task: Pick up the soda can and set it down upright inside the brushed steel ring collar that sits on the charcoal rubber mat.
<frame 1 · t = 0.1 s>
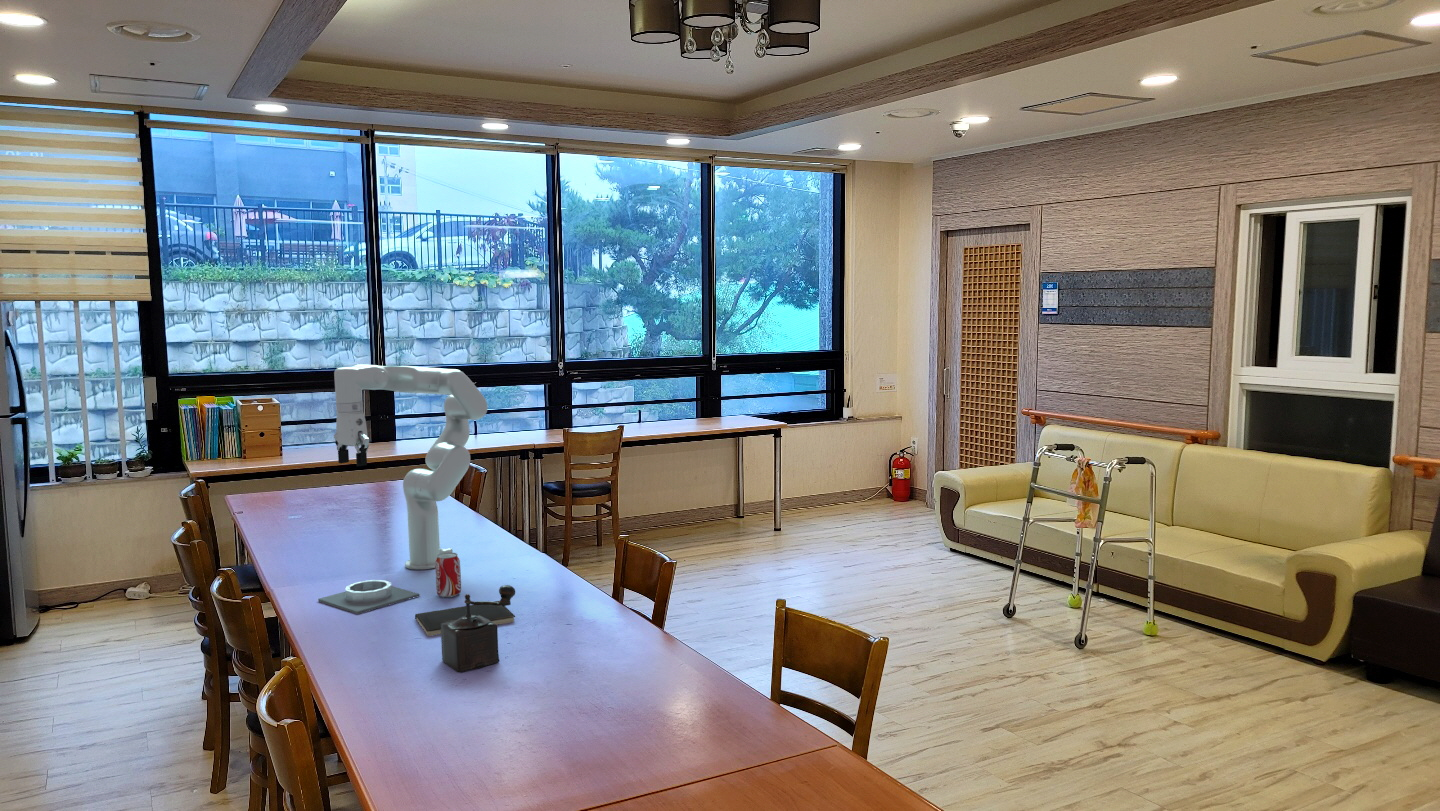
hand: (352, 464, 302), 37 cm above the table, tool pointing down, fingers open, 9 cm apart
mat: (369, 598, 289), on the table
ring collar: (368, 591, 289), on the mat, point 2 cm above the table
hardcover book: (465, 623, 268), on the table
manual coffee grinder: (481, 660, 239), on the table
soda can: (449, 595, 292), on the table
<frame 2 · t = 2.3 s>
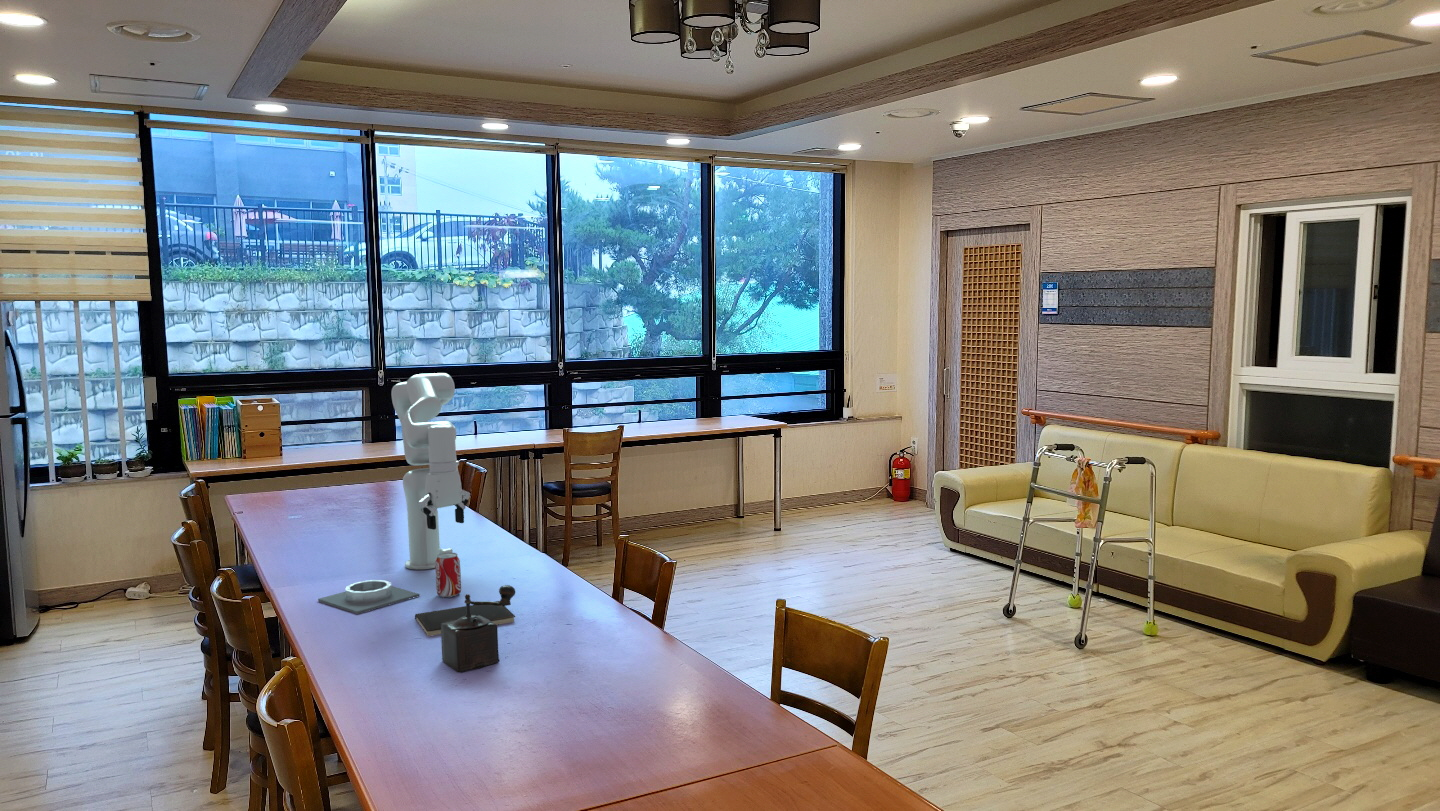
hand: (446, 525, 289), 21 cm above the table, tool pointing down, fingers open, 9 cm apart
nothing on the table moved.
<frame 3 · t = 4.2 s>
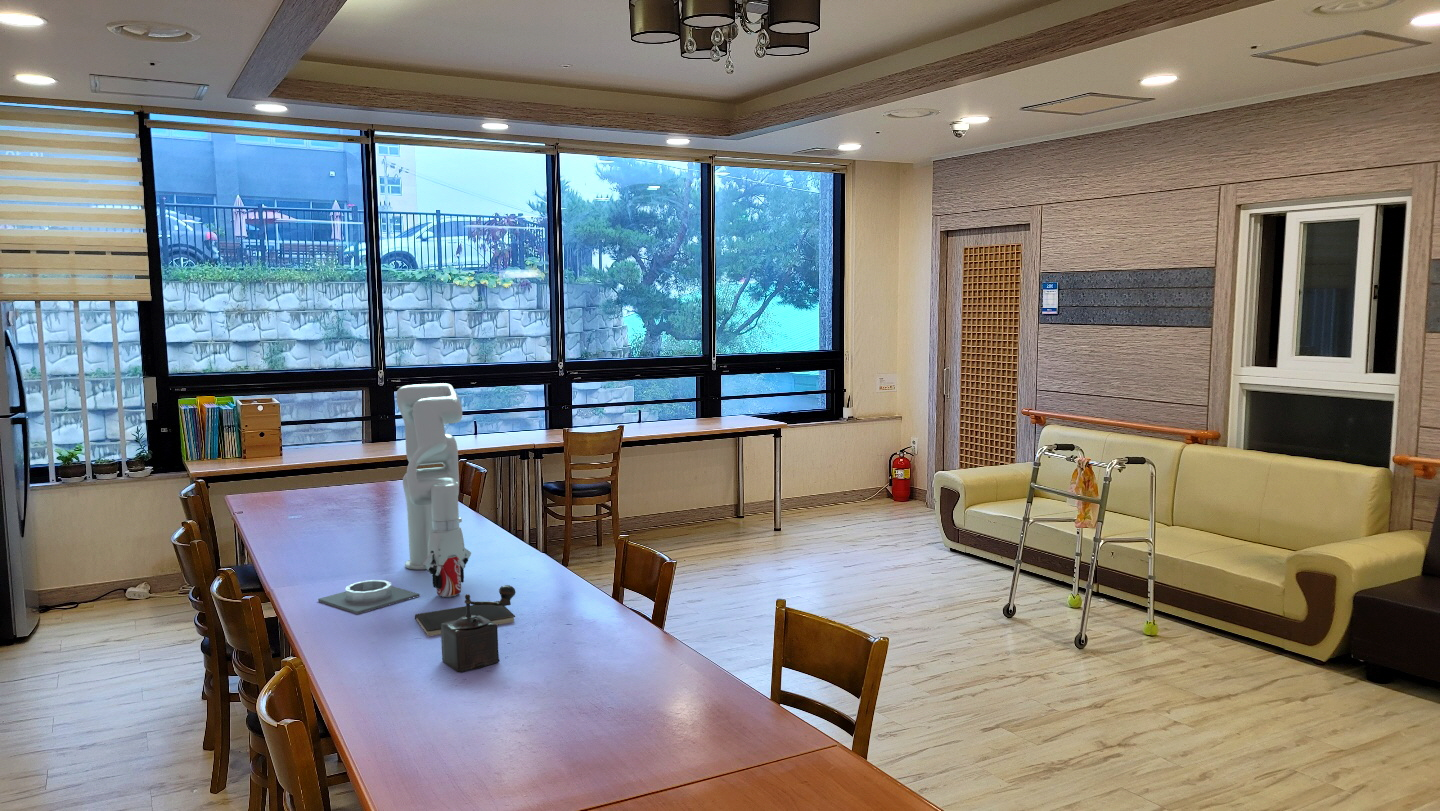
hand: (448, 584, 291), 3 cm above the table, tool pointing down, fingers closed on soda can, 7 cm apart
soda can: (449, 595, 292), on the table, touching gripper
everything else where it was.
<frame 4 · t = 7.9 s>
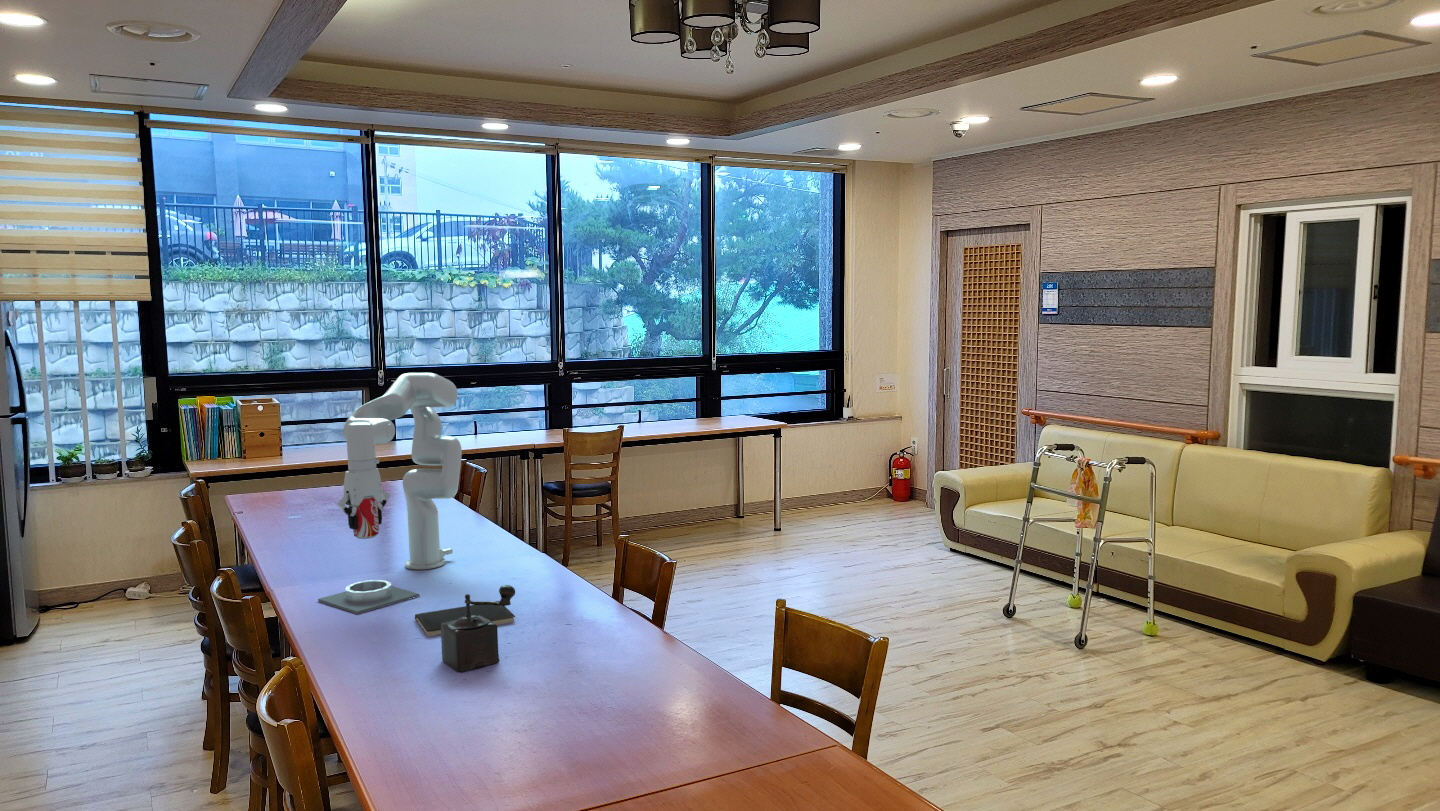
hand: (365, 525, 287), 22 cm above the table, tool pointing down, fingers closed on soda can, 7 cm apart
soda can: (366, 537, 287), point 18 cm above the table, touching gripper
everything else where it was.
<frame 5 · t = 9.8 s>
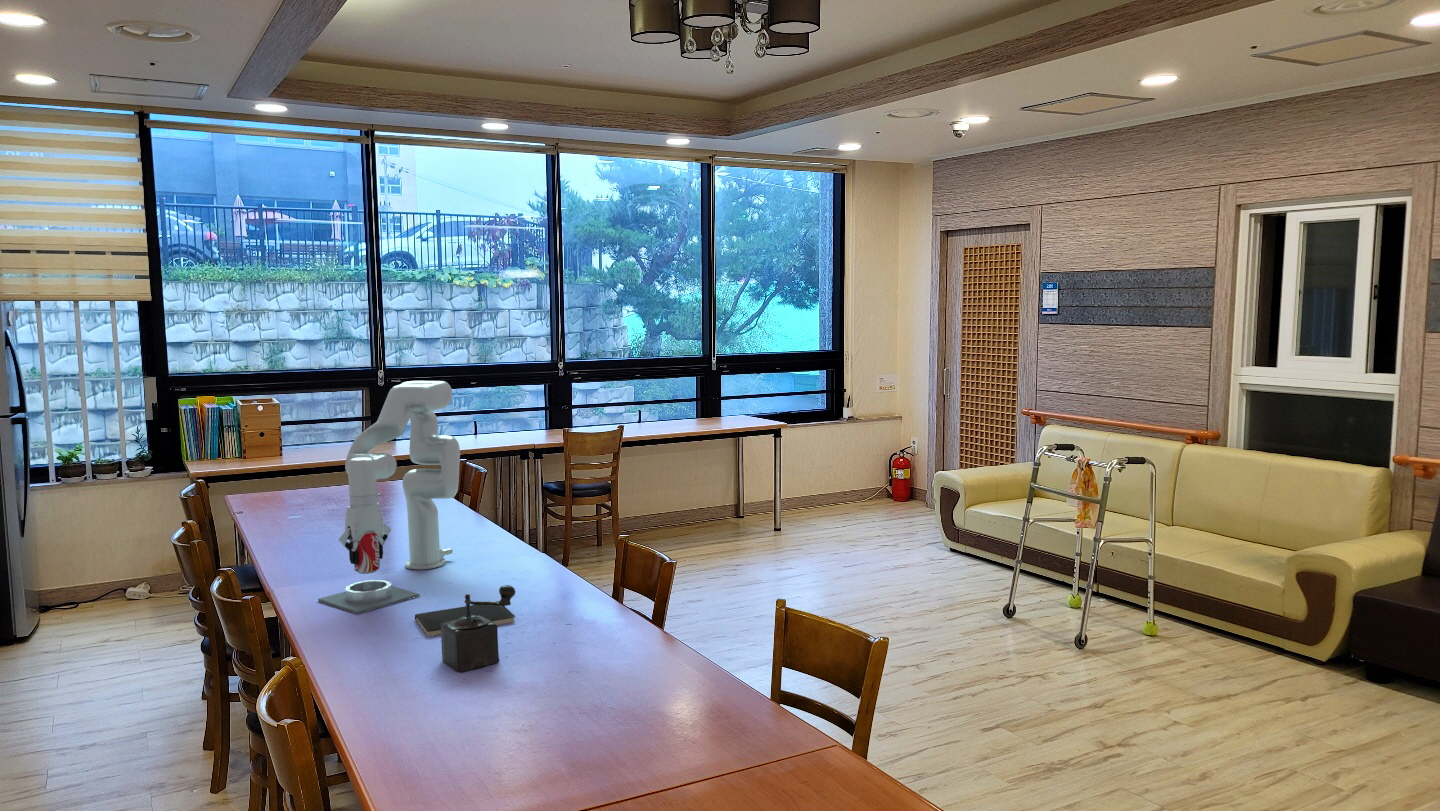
hand: (366, 560, 288), 11 cm above the table, tool pointing down, fingers closed on soda can, 7 cm apart
soda can: (367, 572, 288), point 8 cm above the table, touching gripper
everything else where it was.
when the fingers open (5 cm above the table, at t = 11.5 s): soda can drops 1 cm, resting on mat.
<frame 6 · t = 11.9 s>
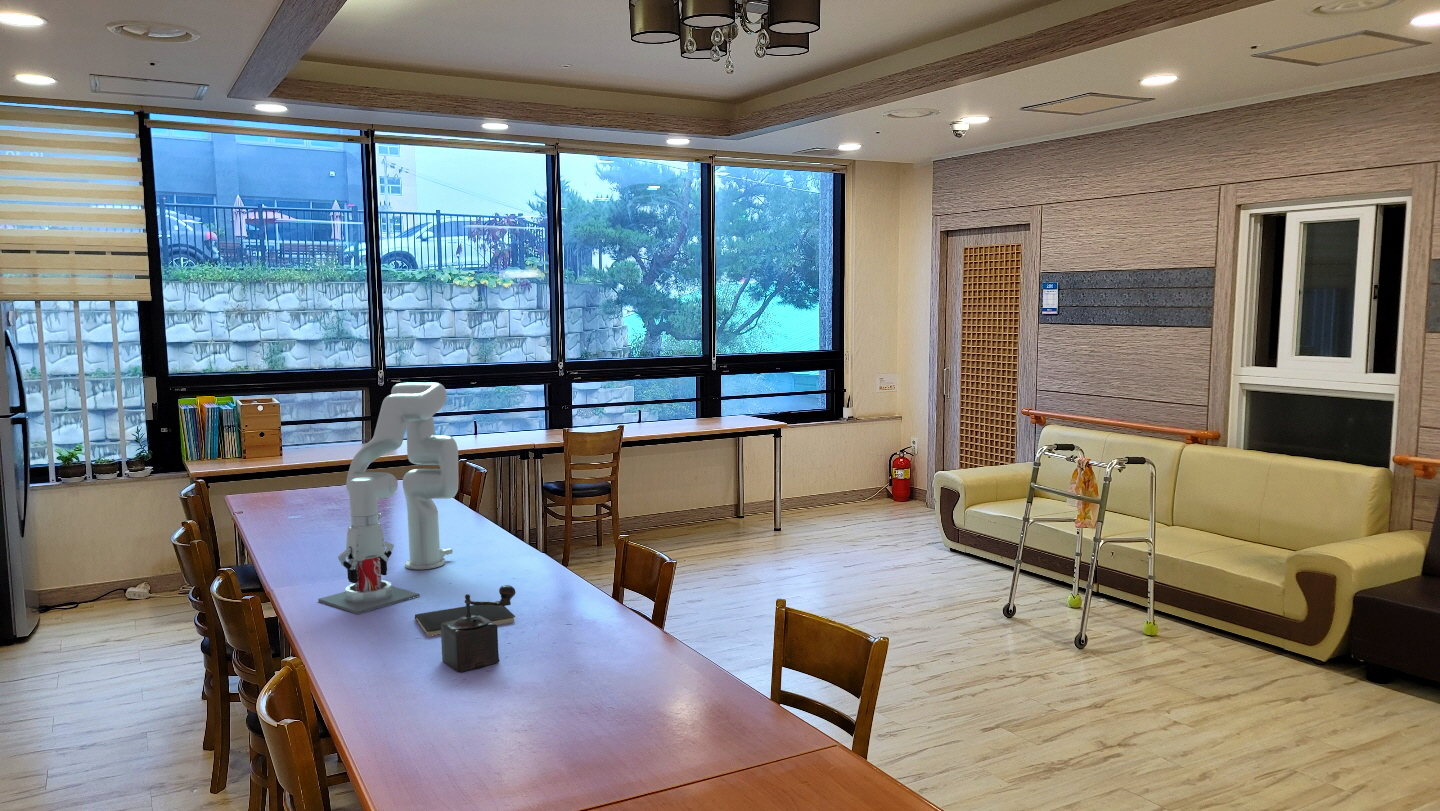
hand: (368, 578, 288), 6 cm above the table, tool pointing down, fingers open, 9 cm apart
soda can: (369, 596, 289), point 1 cm above the table, touching mat
everything else where it was.
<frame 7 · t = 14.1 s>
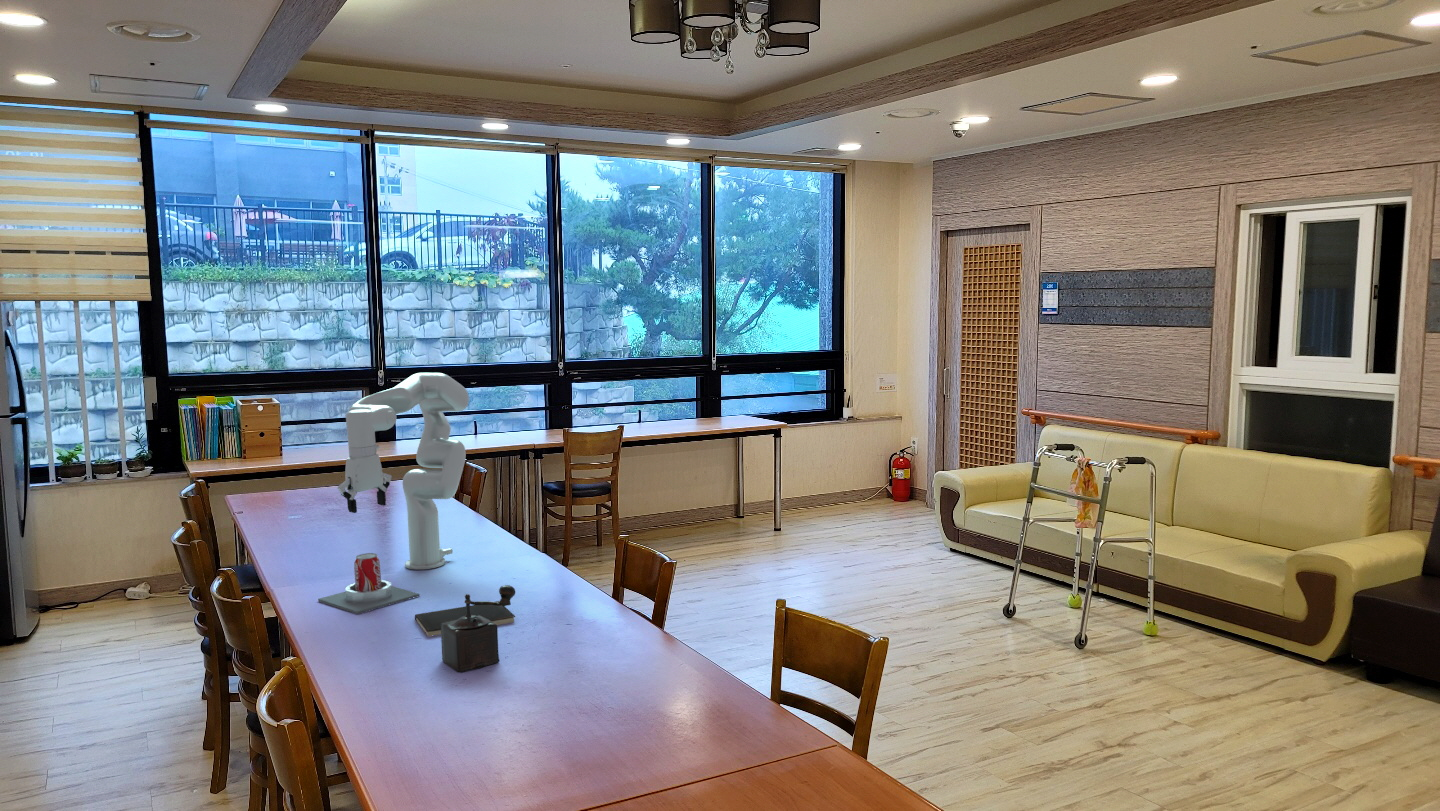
hand: (367, 508, 294), 25 cm above the table, tool pointing down, fingers open, 9 cm apart
nothing on the table moved.
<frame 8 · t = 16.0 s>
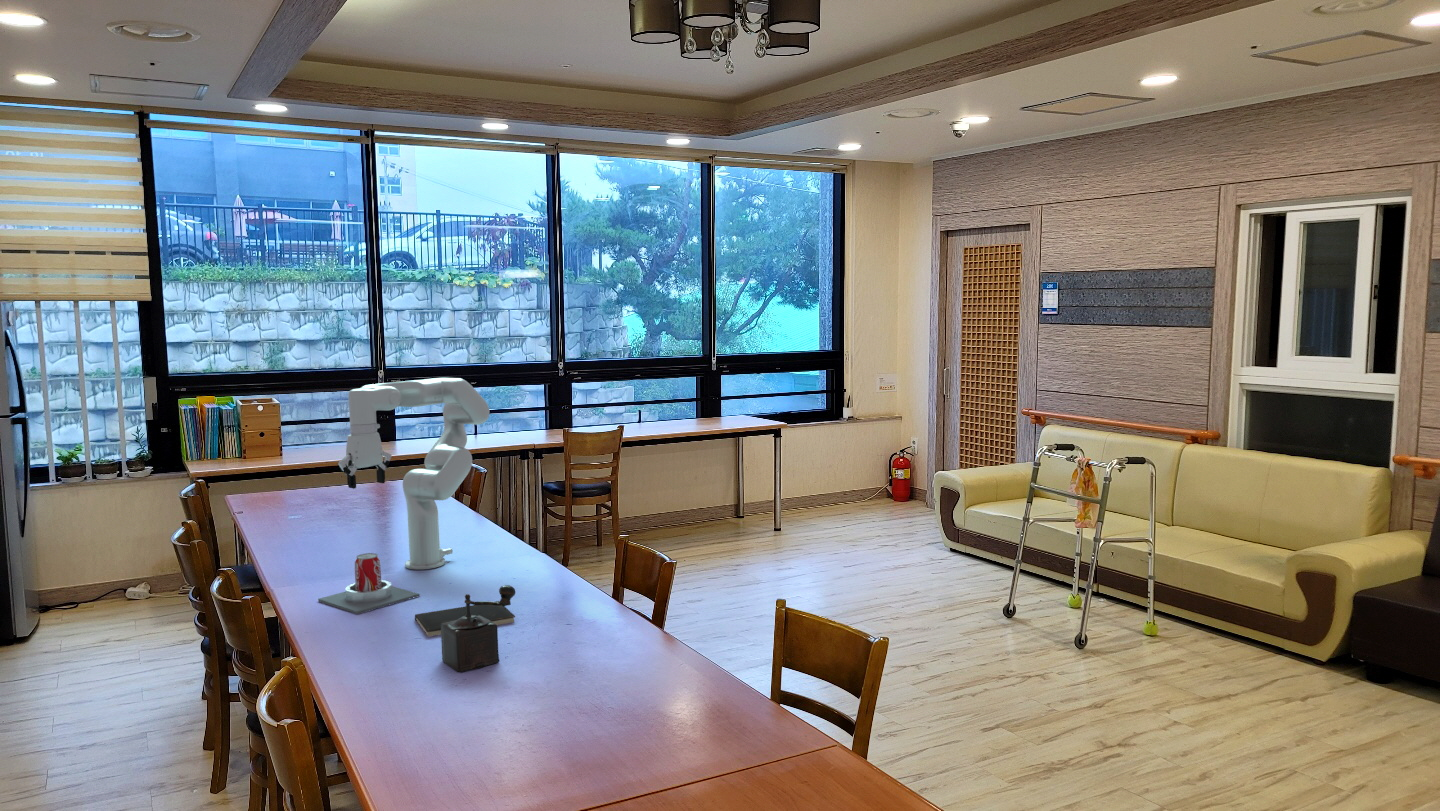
hand: (366, 485, 302), 30 cm above the table, tool pointing down, fingers open, 9 cm apart
nothing on the table moved.
at the end: soda can 0.1 cm off-centre on the ring collar, point 0.6 cm above the ring collar's base; soda can tilted 0°; the gripper is holding nothing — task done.
